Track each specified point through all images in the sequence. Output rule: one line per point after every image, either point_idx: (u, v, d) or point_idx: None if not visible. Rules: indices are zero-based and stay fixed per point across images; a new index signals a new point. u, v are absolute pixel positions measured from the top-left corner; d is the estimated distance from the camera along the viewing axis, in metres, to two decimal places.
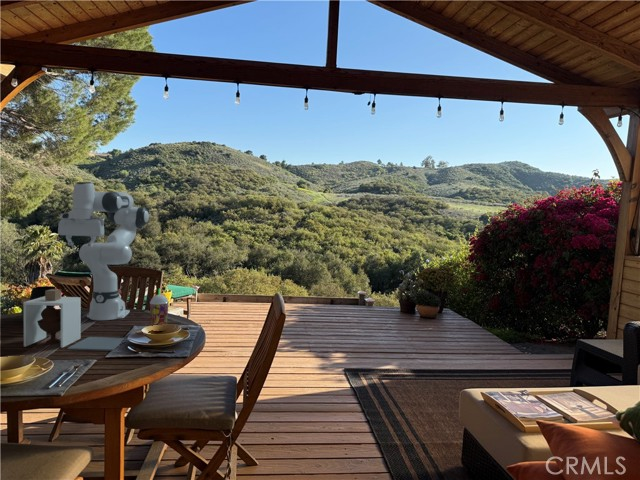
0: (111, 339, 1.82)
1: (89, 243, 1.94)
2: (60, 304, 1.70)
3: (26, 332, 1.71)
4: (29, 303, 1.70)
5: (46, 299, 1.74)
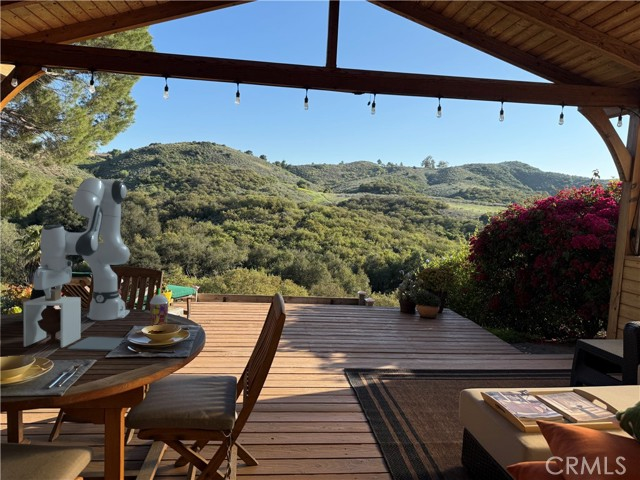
0: (111, 339, 1.82)
1: None
2: (60, 304, 1.70)
3: (26, 332, 1.71)
4: (29, 303, 1.70)
5: (46, 299, 1.74)
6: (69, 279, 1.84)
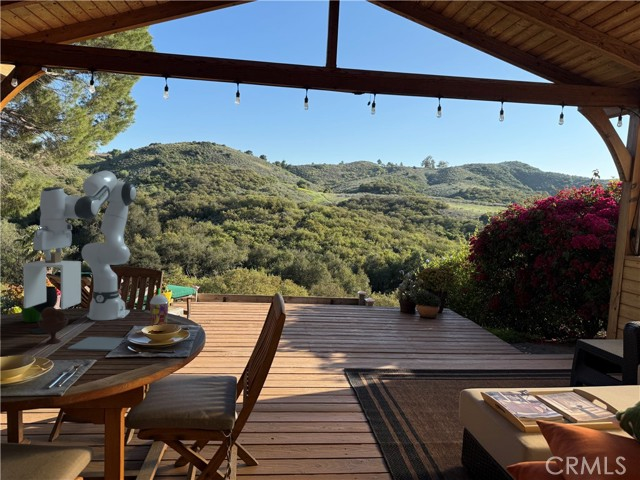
0: (111, 339, 1.82)
1: None
2: (60, 265, 1.69)
3: (26, 294, 1.70)
4: (29, 264, 1.69)
5: (46, 261, 1.73)
6: (69, 243, 1.84)
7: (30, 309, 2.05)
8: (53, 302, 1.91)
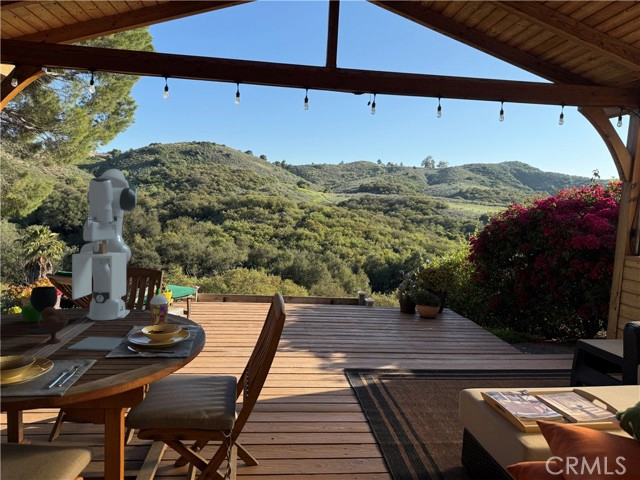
0: (111, 339, 1.82)
1: None
2: (109, 256, 1.68)
3: (74, 285, 1.69)
4: (78, 255, 1.68)
5: (94, 252, 1.72)
6: (114, 235, 1.83)
7: (30, 309, 2.05)
8: (53, 302, 1.91)
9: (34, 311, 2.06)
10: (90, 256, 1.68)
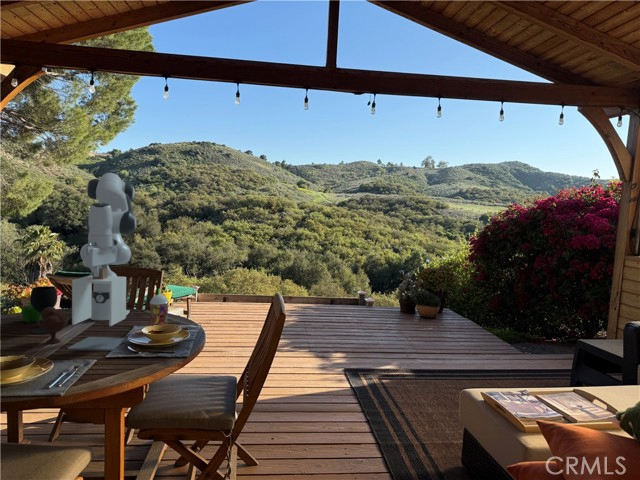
0: (111, 339, 1.82)
1: None
2: (109, 282, 1.69)
3: (74, 310, 1.69)
4: (78, 281, 1.69)
5: (94, 277, 1.73)
6: (114, 258, 1.83)
7: (30, 309, 2.05)
8: (53, 302, 1.91)
9: (34, 311, 2.06)
10: (90, 282, 1.69)
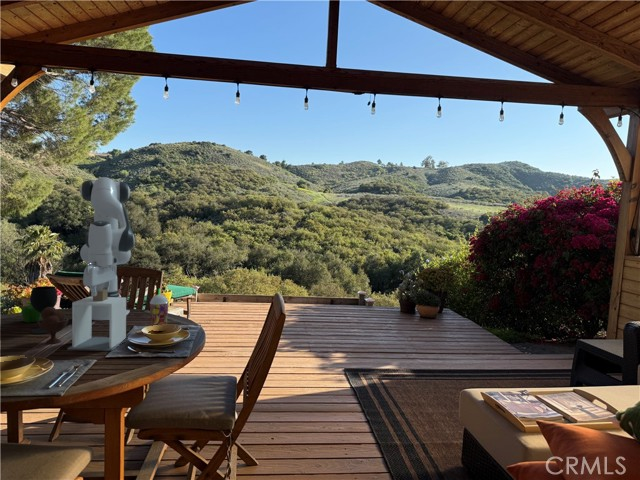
0: None
1: None
2: (109, 304, 1.69)
3: (74, 332, 1.70)
4: (78, 303, 1.69)
5: (94, 299, 1.74)
6: (114, 276, 1.83)
7: (30, 309, 2.05)
8: (53, 302, 1.91)
9: (34, 311, 2.06)
10: (90, 304, 1.69)
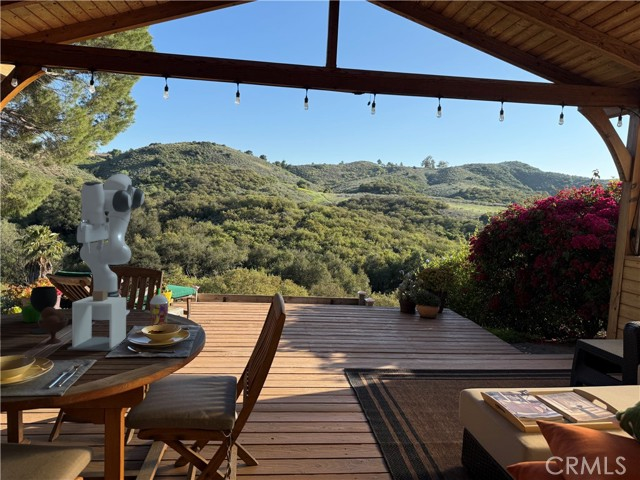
0: None
1: None
2: (109, 304, 1.69)
3: (74, 332, 1.70)
4: (78, 303, 1.69)
5: (94, 299, 1.74)
6: (107, 235, 1.91)
7: (30, 309, 2.05)
8: (53, 302, 1.91)
9: (34, 311, 2.06)
10: (90, 304, 1.69)
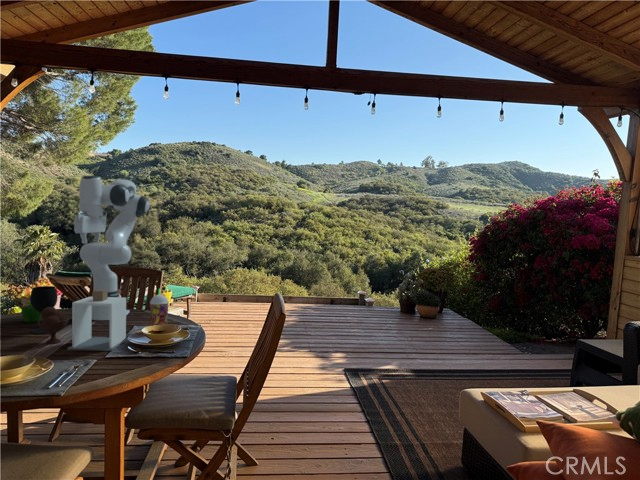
0: None
1: None
2: (109, 304, 1.69)
3: (74, 332, 1.70)
4: (78, 303, 1.69)
5: (94, 299, 1.74)
6: (104, 228, 1.97)
7: (30, 309, 2.05)
8: (53, 302, 1.91)
9: (34, 311, 2.06)
10: (90, 304, 1.69)
